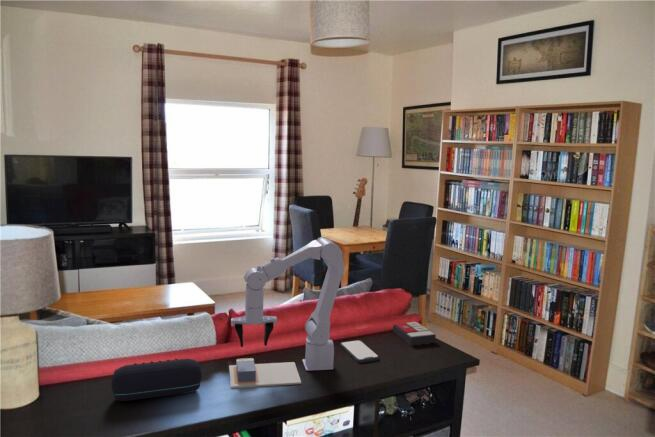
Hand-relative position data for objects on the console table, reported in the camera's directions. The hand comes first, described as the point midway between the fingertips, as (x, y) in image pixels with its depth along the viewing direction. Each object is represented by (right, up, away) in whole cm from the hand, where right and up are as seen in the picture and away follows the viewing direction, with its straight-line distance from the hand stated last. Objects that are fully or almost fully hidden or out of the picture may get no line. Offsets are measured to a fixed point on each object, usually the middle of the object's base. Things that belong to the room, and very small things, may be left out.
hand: (253, 345), depth 170 cm
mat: (+4, -10, -1) cm, 10 cm away
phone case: (+36, -8, +20) cm, 42 cm away
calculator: (+58, -6, +37) cm, 69 cm away
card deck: (-2, -9, -2) cm, 10 cm away
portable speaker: (-26, -11, -15) cm, 32 cm away
